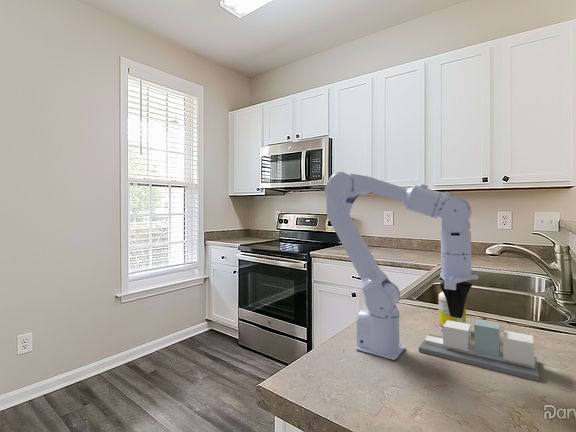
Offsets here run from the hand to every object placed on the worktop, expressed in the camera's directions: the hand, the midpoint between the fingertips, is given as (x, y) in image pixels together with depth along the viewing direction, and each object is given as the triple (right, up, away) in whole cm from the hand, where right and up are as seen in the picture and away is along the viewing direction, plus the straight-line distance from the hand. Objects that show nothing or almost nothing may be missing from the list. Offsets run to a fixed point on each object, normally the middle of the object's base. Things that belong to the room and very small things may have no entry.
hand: (456, 316), depth 66 cm
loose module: (+8, -9, +3) cm, 12 cm away
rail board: (+7, -10, +4) cm, 13 cm away
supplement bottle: (+9, -10, +19) cm, 24 cm away
